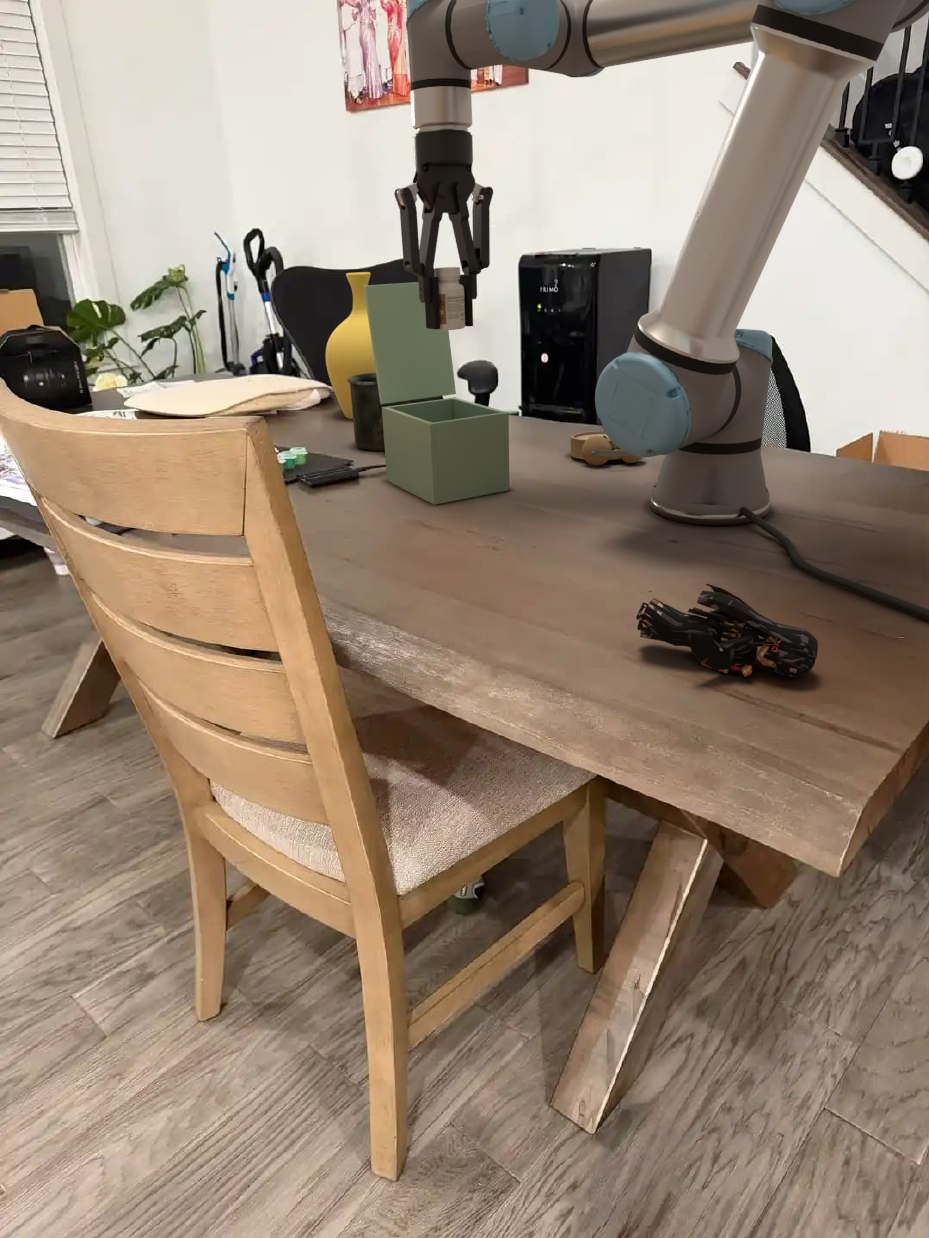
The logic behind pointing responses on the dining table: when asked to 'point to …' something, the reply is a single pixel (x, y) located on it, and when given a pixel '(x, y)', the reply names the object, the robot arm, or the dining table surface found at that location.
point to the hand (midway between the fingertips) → (449, 326)
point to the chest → (446, 449)
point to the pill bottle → (450, 298)
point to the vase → (351, 345)
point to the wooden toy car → (598, 448)
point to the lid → (407, 345)
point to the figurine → (730, 635)
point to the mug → (368, 411)
